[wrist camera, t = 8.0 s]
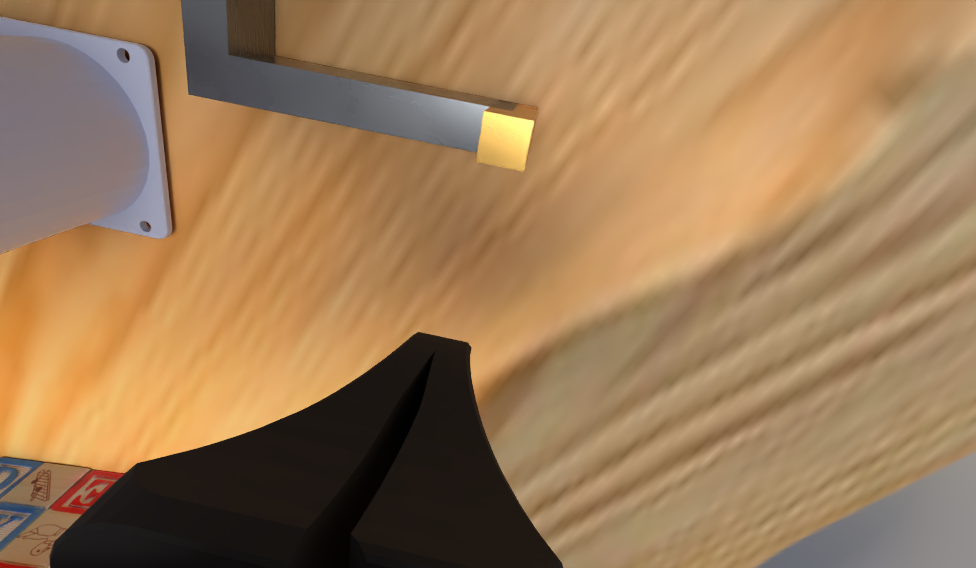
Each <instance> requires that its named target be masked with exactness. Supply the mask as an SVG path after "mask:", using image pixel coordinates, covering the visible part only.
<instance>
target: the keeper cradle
mask: <svg viewBox="0 0 976 568" xmlns="http://www.w3.org/2000/svg"><path fill="white" fill-rule="evenodd" d="M181 6H182V19H183V31H184V44H185V56H186V69H187V81H188V93H189V95H194V96H199V97H204V98H209V99H214V100H219V101H224V102H229V103H234V104H239V105H244V106H248V107H253V108H258V109H263V110H268V111H273V112H278V113H283V114H288V115H293V116H298V117H303V118H308V119H313V120H318V121H323V122H328V123H333V124H338V125H343V126H348V127H353V128H358V129H363V130H368V131H373V132H378V133H383V134H388V135H393V136H398V137H402V138H407V139H412V140H417V141H422V142H427V143H432V144H437V145H442V146H447V147H452V148H457V149H462V150H467V151H472V152H477V157H476V162H479V163H484V164H489V165H494V166H499V167H504V168H508V169H513V170H518V171H523V172H524V168H525V165H526V161H527V157H528V153H529V149H530V145H531V140H532V135H533V130H534V126H535V121H536V116H537V111H538V108H537V107H532V106H527V105H522V104H517V103H512V102H507V101H502V100H497V99H492V98H487V97H482V96H476V95H471V94H466V93H461V92H456V91H451V90H446V89H441V88H436V87H431V86H426V85H421V84H416V83H411V82H405V81H400V80H395V79H390V78H385V77H380V76H375V75H370V74H365V73H360V72H355V71H350V70H345V69H340V68H334V67H329V66H324V65H319V64H314V63H309V62H304V61H299V60H294V59H289V58H284V57H279V56H275V1H274V0H181Z"/></svg>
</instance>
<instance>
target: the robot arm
mask: <svg viewBox="0 0 976 568" xmlns="http://www.w3.org/2000/svg"><path fill="white" fill-rule="evenodd" d="M125 50H127V52H128V53H129V56H130V60H129V61H128V60H127V59H126V57H125ZM146 222H148V223H149V224H150V226H151V228H149V227H148V226H147V223H146ZM85 224H91V225H95V226H100V227H105V228H109V229H114V230H119V231H123V232H128V233H133V234H138V235H142V236H147V237H152V238H156V239H163V238H165V237H168V236H170V235H171V233H172V220H171V211H170V201H169V192H168V182H167V173H166V163H165V154H164V144H163V135H162V125H161V116H160V106H159V97H158V87H157V78H156V68H155V60H154V56H153V54H152V52H151V51H150V49H149V48H147V47H146V46H145V45H142V44H139V43H133V42H128V41H123V40H118V39H113V38H108V37H103V36H98V35H93V34H88V33H83V32H78V31H73V30H68V29H63V28H58V27H53V26H48V25H43V24H38V23H33V22H28V21H23V20H17V19H12V18H7V17H2V16H0V254H2V253H5V252H8V251H11V250H14V249H16V248H19V247H22V246H25V245H28V244H31V243H33V242H36V241H39V240H42V239H45V238H48V237H51V236H53V235H56V234H59V233H62V232H65V231H68V230H70V229H73V228H76V227H79V226H82V225H85ZM470 353H471V346H470V345H469V344H468V343H467V342H463V341H458V340H453V339H449V338H444V337H439V336H435V335H430V334H425V333H421V332H418V333H416V334H414V335H413V336H412V337H410V338H409V339H408V340H407V341H406V342H405V343H403V344H402V345H401V346H400V347H399V348H397V349H396V350H395V351H394V352H392V353H391V354H390V355H389V356H387V357H386V358H385V359H383V360H382V361H381V362H379V363H378V364H377V365H375V366H374V367H373V368H371V369H370V370H368V371H367V372H366V373H364V374H363V375H361V376H360V377H358V378H357V379H355V380H354V381H352V382H350V383H349V384H347V385H346V386H344V387H343V388H341V389H340V390H338V391H336V392H335V393H333V394H331V395H330V396H328V397H326V398H324V399H322V400H321V401H319V402H317V403H315V404H313V405H311V406H309V407H307V408H305V409H303V410H301V411H299V412H297V413H294V414H292V415H289V416H287V417H285V418H282V419H280V420H278V421H275V422H273V423H271V424H268V425H266V426H263V427H261V428H258V429H256V430H253V431H250V432H247V433H244V434H242V435H239V436H236V437H233V438H230V439H227V440H223V441H220V442H217V443H214V444H211V445H207V446H204V447H200V448H197V449H193V450H189V451H185V452H181V453H177V454H173V455H169V456H165V457H161V458H157V459H153V460H149V461H145V462H140V463H137V464H136V465H134V466H133V467H132V468H131V469H130V470H129V471H128V472H126V473H125V474H124V475H123V476H122V477H121V478H119V479H118V480H117V481H116V482H115V483H114V484H113V485H112V486H111V487H110V488H108V489H107V490H106V491H105V492H104V493H103V494H102V495H101V496H100V497H99V498H98V499H97V500H96V501H95V502H94V503H93V504H92V505H91V506H90V507H89V508H88V509H87V510H86V511H85V512H84V513H83V514H82V515H81V516H80V517H79V518H78V519H77V520H76V521H75V522H74V523H73V524H72V525H71V526H70V527H69V528H68V529H67V530H66V531H65V532H64V533H63V534H62V535H61V536H60V537H59V538H58V539H57V540H56V541H54V544H53V547H52V550H51V553H50V556H49V559H50V568H563V566H562V563H561V561H560V560H559V559H558V557H557V556H556V555H555V554H554V552H553V551H552V550H551V548H550V547H549V546H548V545H547V543H546V542H545V541H544V539H543V538H542V537H541V535H540V534H539V533H538V531H537V530H536V528H535V527H534V525H533V524H532V522H531V521H530V519H529V518H528V516H527V515H526V513H525V512H524V510H523V509H522V507H521V505H520V504H519V502H518V500H517V498H516V496H515V495H514V493H513V491H512V489H511V488H510V486H509V484H508V482H507V480H506V479H505V477H504V475H503V473H502V471H501V469H500V467H499V465H498V462H497V460H496V458H495V456H494V454H493V451H492V449H491V446H490V444H489V441H488V439H487V436H486V433H485V430H484V427H483V425H482V421H481V418H480V415H479V411H478V407H477V403H476V399H475V395H474V390H473V385H472V379H471V370H470Z"/></svg>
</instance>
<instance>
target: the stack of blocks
mask: <svg viewBox="0 0 976 568" xmlns="http://www.w3.org/2000/svg"><path fill="white" fill-rule="evenodd" d="M123 475H124V474H122V473H115V472H107V471H99V470H95V471H92V470H91V469H88V468H81V467H73V466H66V465H59V464H52V463H43V462H38V461H30V460H22V459H13V458H6V457H0V568H50V559H49V556H50V553H51V550H52V547H53V544H54V541H56V540H57V539H58V538H59V537H60V536H61V535H62V534H63V533H64V532H65V531H66V530H67V529H68V528H69V527H70V526H71V525H72V524H73V523H74V522H75V521H76V520H77V519H78V518H79V517H80V516H81V515H82V514H83V513H84V512H85V511H86V510H87V509H88V508H89V507H90V506H91V505H92V504H93V503H94V502H95V501H96V500H97V499H98V498H99V497H100V496H101V495H102V494H103V493H104V492H105V491H106V490H107V489H108V488H110V487H111V486H112V485H113V484H114V483H115V482H116V481H117V480H118V479H119V478H121V477H122V476H123Z"/></svg>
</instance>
